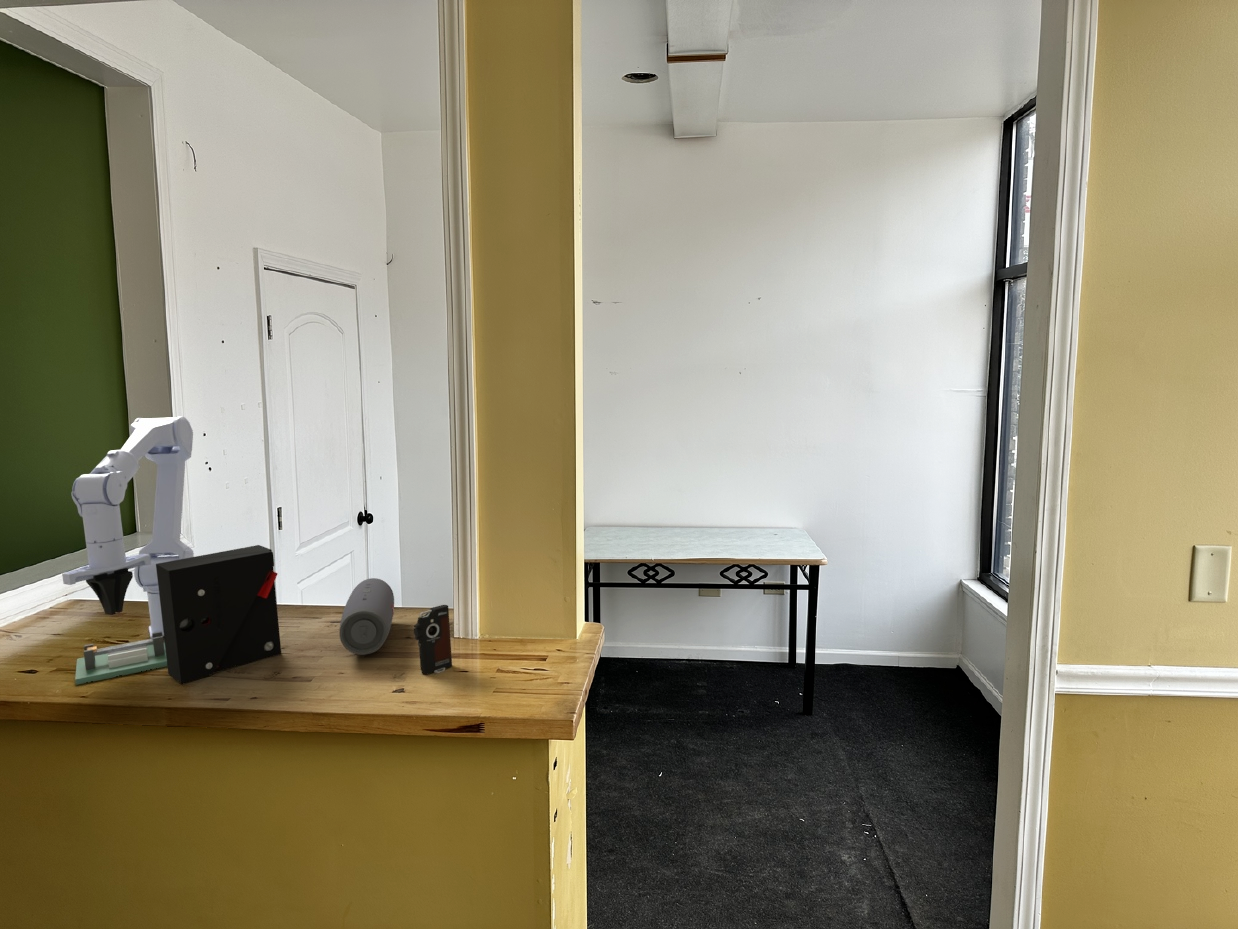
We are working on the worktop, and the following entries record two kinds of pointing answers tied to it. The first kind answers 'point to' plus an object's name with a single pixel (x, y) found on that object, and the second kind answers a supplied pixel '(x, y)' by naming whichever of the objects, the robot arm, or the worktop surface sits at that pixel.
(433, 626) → the camera
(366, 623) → the bluetooth speaker
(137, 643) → the bar
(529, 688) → the worktop surface
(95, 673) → the heatsink base
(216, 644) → the electrical component
